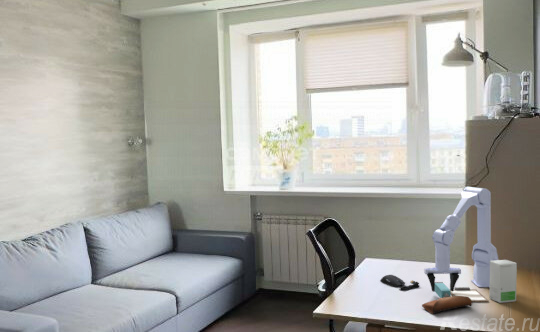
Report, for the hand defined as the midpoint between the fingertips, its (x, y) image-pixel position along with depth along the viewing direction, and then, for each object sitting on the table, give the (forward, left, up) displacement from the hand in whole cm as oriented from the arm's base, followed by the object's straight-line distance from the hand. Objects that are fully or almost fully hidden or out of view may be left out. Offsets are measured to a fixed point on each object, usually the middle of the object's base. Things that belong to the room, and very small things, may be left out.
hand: (442, 290), depth 215 cm
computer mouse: (-16, -14, -3) cm, 21 cm away
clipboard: (+2, +10, -2) cm, 10 cm away
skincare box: (+6, +22, -2) cm, 23 cm away
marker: (0, 0, -2) cm, 2 cm away
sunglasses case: (+15, -3, -2) cm, 15 cm away
